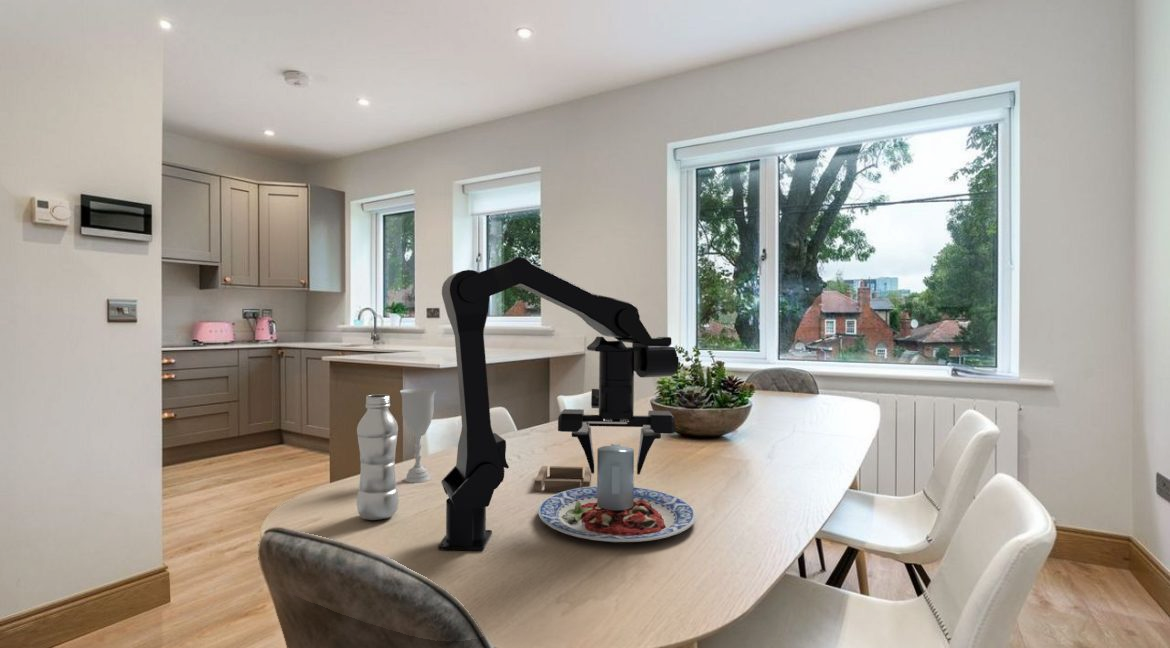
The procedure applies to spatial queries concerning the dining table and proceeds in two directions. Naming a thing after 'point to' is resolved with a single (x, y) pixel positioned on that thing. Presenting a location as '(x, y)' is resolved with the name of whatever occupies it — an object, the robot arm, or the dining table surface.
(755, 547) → the dining table surface
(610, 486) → the jug
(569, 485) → the jug holder
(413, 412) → the chalice
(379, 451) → the plastic bottle
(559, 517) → the ceramic plate
